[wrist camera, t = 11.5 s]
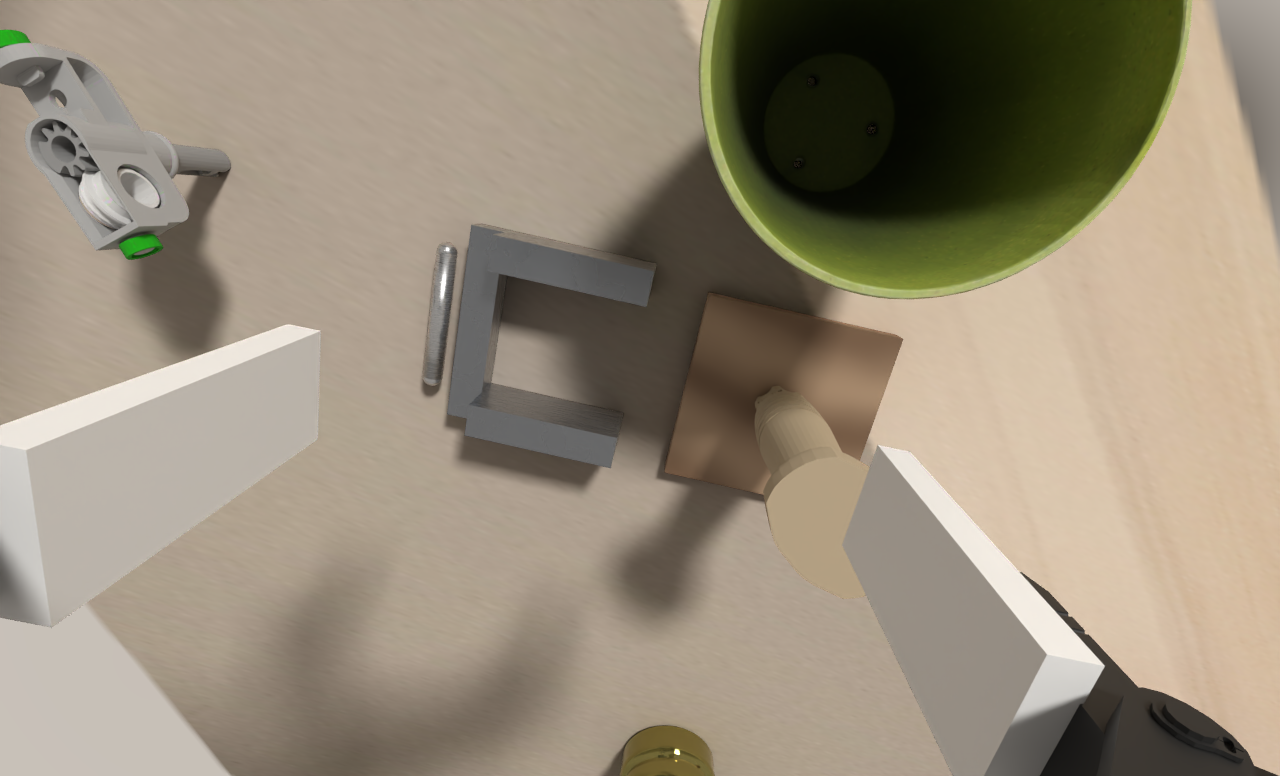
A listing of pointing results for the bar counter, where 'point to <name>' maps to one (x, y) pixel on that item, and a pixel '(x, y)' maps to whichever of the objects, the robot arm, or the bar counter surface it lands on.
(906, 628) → the robot arm
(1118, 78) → the flower pot
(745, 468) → the walnut board
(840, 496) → the handle
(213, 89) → the bar counter surface
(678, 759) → the olive glossy bulbous piece
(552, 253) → the vise
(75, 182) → the mechanical component
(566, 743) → the bar counter surface
